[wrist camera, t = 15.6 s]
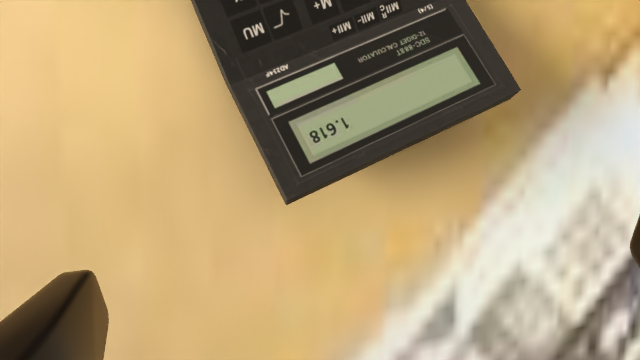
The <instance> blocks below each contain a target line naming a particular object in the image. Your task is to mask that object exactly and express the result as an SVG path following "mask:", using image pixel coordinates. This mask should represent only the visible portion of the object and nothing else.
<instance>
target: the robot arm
mask: <svg viewBox="0 0 640 360" xmlns="http://www.w3.org/2000/svg"><path fill="white" fill-rule="evenodd" d="M630 250H631V254H632V257H633V258H634V260H635V262H636V263H637V265H638V266H639V268H640V216H639V219H638V221H637V224H636V227H635V230H634V233H633V236H632V239H631V242H630ZM108 323H109V318H108V310H107V307H106V304H105V301H104V298H103V296H102V293H101V290H100V287H99V284H98V282H97V279H96V276H95V275H94V273H93V272H91V271H89V270H81V271H73V272H65V273H62V274H60V275H59V276H57V277H56V278H55V279H54V280H52V281H51V282H50V283H49V284H47V285H46V286H45V287H44V288H42V289H41V290H40V291H39V292H37V293H36V294H35V295H34V296H32V297H31V298H30V299H29V300H27V301H26V302H25V303H23V304H22V305H21V306H20V307H18V308H17V309H16V310H15V311H13V312H12V313H11V314H10V315H8V316H7V317H6V318H5V319H3V320H2V321H1V322H0V360H103V358H104V351H105V344H106V338H107V331H108Z"/></svg>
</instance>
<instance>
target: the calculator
mask: <svg viewBox="0 0 640 360" xmlns="http://www.w3.org/2000/svg"><path fill="white" fill-rule="evenodd" d="M191 2H192V4H193V6H194V9H195V11H196V14H197V16H198V18H199V21H200V23H201V25H202V28H203V30H204V32H205V35H206V37H207V40H208V42H209V44H210V47H211V49H212V51H213V54H214V56H215V59H216V61H217V63H218V66H219V68H220V70H221V73H222V75H223V78H224V80H225V82H226V85H227V87H228V89H229V91H230V93H231V95H232V97H233V99H234V101H235V103H236V105H237V107H238V109H239V111H240V113H241V115H242V117H243V119H244V121H245V123H246V125H247V127H248V129H249V131H250V133H251V135H252V137H253V139H254V141H255V143H256V145H257V147H258V149H259V151H260V153H261V155H262V157H263V159H264V161H265V163H266V165H267V167H268V169H269V172H270V174H271V176H272V178H273V180H274V182H275V184H276V186H277V188H278V190H279V192H280V194H281V196H282V198H283V200H284V202H285V204H286V205H288V204H290V203H292V202H294V201H296V200H298V199H300V198H303V197H305V196H307V195H309V194H311V193H313V192H315V191H317V190H319V189H322V188H324V187H326V186H328V185H330V184H332V183H334V182H336V181H338V180H341V179H343V178H345V177H347V176H349V175H351V174H353V173H355V172H357V171H360V170H362V169H364V168H366V167H368V166H370V165H372V164H374V163H376V162H378V161H381V160H383V159H385V158H387V157H389V156H391V155H393V154H395V153H397V152H400V151H402V150H404V149H406V148H408V147H410V146H412V145H414V144H416V143H419V142H421V141H423V140H425V139H427V138H429V137H431V136H433V135H435V134H438V133H440V132H442V131H444V130H446V129H448V128H450V127H452V126H454V125H457V124H459V123H461V122H463V121H465V120H467V119H469V118H471V117H473V116H476V115H478V114H480V113H482V112H484V111H486V110H488V109H490V108H492V107H495V106H497V105H499V104H501V103H503V102H505V101H507V100H509V99H511V98H512V97H513V96H514V95H515V94H517V93H518V92H519V91H520V90H521V89H520V87H519V86H518V84H517V82H516V81H515V79H514V78H513V76H512V74H511V73H510V71H509V70H508V68H507V66H506V65H505V63H504V62H503V60H502V58H501V57H500V55H499V54H498V52H497V50H496V49H495V47H494V46H493V44H492V42H491V41H490V39H489V38H488V36H487V34H486V33H485V31H484V30H483V28H482V26H481V25H480V23H479V22H478V20H477V18H476V17H475V15H474V14H473V12H472V10H471V9H470V7H469V6H468V4H467V2H466V1H465V0H191Z"/></svg>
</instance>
